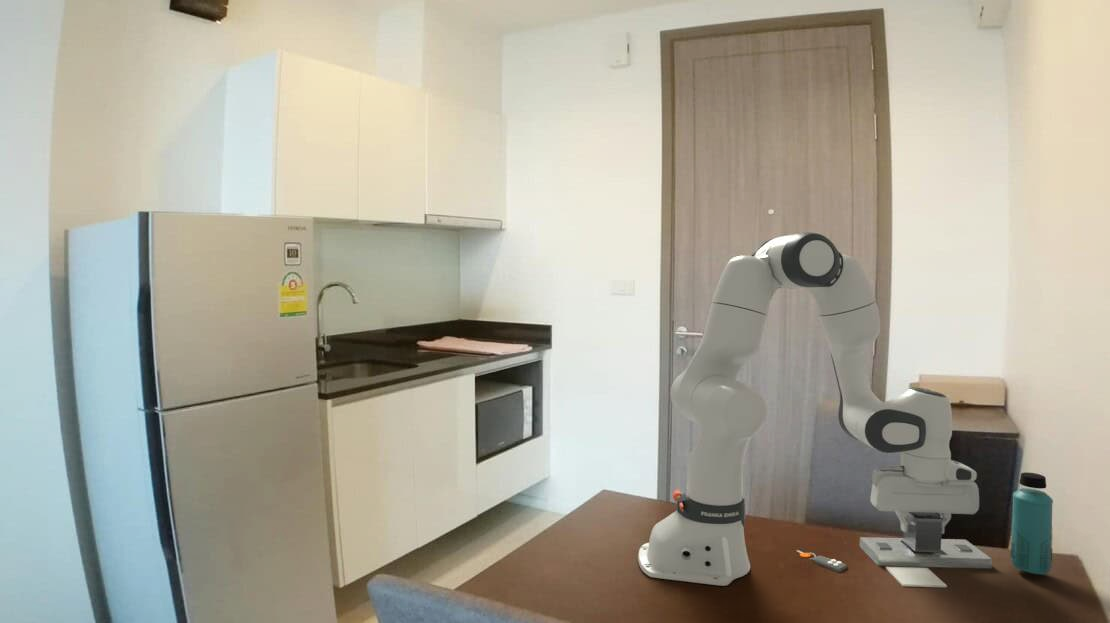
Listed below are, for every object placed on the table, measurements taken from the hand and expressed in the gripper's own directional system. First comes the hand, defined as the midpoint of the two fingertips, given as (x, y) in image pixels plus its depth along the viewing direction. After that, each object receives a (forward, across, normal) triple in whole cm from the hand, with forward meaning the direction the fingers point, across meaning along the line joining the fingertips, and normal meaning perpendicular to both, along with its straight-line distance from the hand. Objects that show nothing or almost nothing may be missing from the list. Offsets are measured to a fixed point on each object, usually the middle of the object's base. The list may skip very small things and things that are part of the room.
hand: (922, 531), depth 129 cm
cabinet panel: (+5, 0, 0) cm, 5 cm away
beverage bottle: (+5, +18, -6) cm, 19 cm away
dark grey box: (+3, 0, 0) cm, 3 cm away
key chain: (+6, -22, -2) cm, 23 cm away
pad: (+6, -6, -9) cm, 12 cm away
